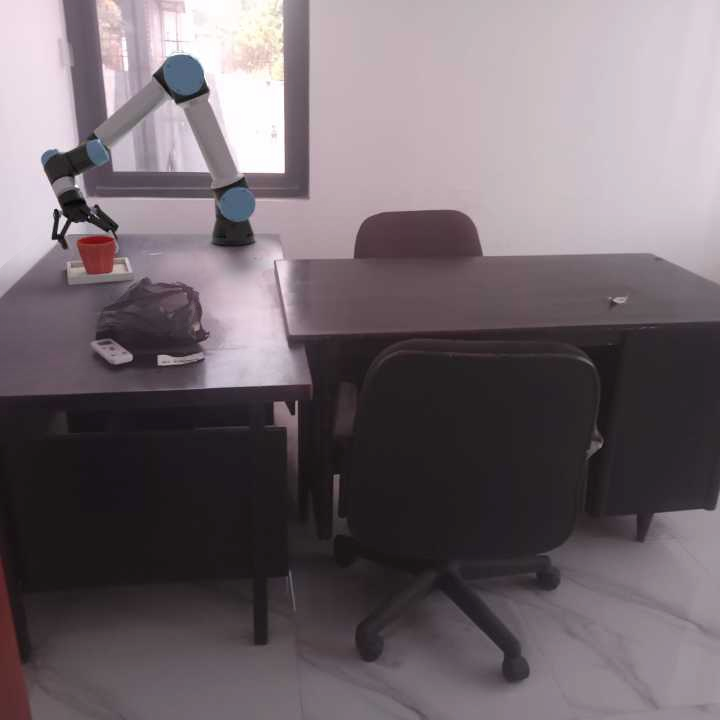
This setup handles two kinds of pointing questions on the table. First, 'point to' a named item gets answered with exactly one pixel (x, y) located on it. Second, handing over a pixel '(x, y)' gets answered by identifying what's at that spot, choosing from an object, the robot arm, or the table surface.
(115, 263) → the drip tray
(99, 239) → the flower pot
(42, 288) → the table surface
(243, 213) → the robot arm
